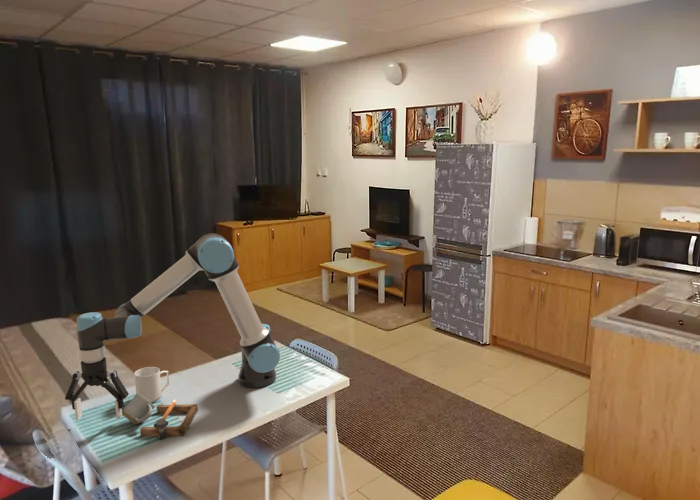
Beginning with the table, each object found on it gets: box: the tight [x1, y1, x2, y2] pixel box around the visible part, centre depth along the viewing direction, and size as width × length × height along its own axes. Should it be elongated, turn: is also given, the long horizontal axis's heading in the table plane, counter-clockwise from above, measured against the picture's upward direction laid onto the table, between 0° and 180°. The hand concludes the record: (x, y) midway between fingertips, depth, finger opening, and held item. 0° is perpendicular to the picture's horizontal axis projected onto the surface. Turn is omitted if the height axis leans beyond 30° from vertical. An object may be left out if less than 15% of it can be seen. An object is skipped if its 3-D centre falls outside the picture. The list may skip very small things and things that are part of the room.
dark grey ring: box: [153, 420, 169, 441], centre depth 158 cm, size 4×4×5 cm
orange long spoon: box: [155, 399, 178, 426], centre depth 164 cm, size 3×16×1 cm, turn 2°
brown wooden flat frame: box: [139, 403, 199, 437], centre depth 167 cm, size 14×16×2 cm
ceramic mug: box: [122, 393, 155, 425], centre depth 166 cm, size 11×8×8 cm
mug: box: [133, 366, 170, 404], centre depth 185 cm, size 12×9×11 cm
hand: (99, 417), depth 167 cm, fingers open, 13 cm apart
